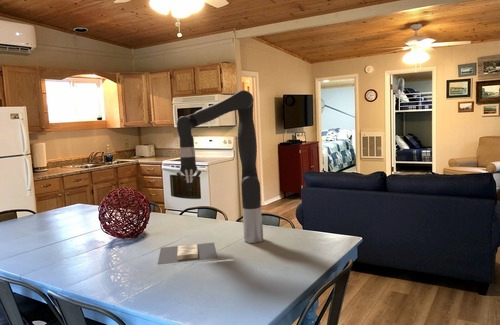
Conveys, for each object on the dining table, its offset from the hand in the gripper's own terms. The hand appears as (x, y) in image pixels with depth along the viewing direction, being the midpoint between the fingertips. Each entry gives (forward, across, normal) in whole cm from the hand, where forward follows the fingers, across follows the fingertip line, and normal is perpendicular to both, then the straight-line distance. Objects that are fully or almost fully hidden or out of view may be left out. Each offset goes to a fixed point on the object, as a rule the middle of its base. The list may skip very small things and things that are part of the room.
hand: (190, 189), depth 204 cm
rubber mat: (+27, -3, -20) cm, 34 cm away
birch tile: (+25, -3, -15) cm, 29 cm away
